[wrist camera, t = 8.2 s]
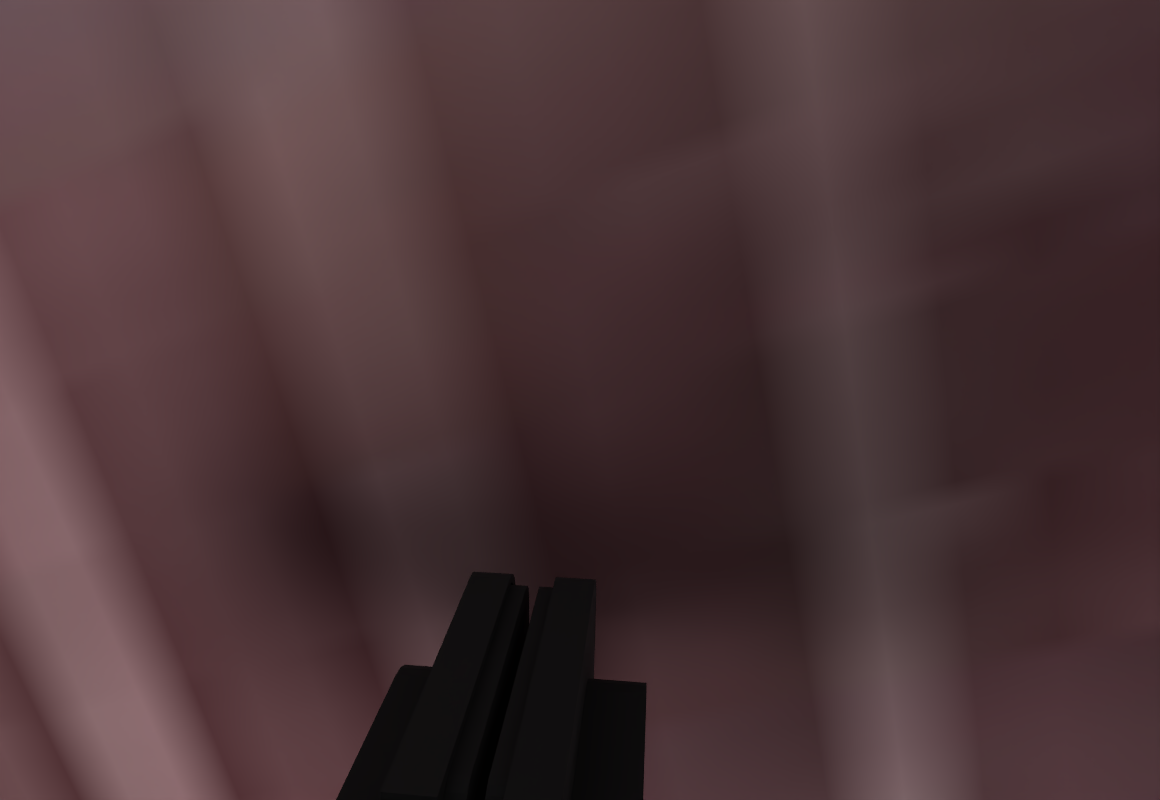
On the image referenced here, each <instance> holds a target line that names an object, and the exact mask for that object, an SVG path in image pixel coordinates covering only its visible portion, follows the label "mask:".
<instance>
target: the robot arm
mask: <svg viewBox="0 0 1160 800" xmlns="http://www.w3.org/2000/svg"><path fill="white" fill-rule="evenodd" d="M595 615H596V580H593V579H578V578H562V577H556V578H555V582H554V586H553V588H551V587H539V590H538V593H537V597H536V601H535V605H534V609H533V612H532V616H531V620H530V624H529V589H528V586H521V585H515V578H514V575H513V574H501V573H486V572H473V573H472V575H471V576H470V579H469V581H468V584H467V586H466V588H465V591H464V593H463V596H462V598H461V600H460V603H459V605H458V607H457V610H456V612H455V615H454V617H453V619H452V622H451V624H450V627H449V629H448V631H447V634H446V636H445V638H444V641H443V643H442V646H441V648H440V650H439V653H438V655H437V657H436V660H435V662H434V665H433V667H428V666H415V665H404V666H402V667H401V668H400V669H399V671H398V672H397V674H396V676H395V678H394V680H393V682H392V684H391V686H390V688H389V690H388V693H387V695H386V697H385V699H384V701H383V703H382V705H381V707H380V709H379V711H378V713H377V716H376V718H375V720H374V722H373V724H372V726H371V728H370V730H369V732H368V734H367V736H366V738H365V741H364V743H363V745H362V747H361V749H360V751H359V753H358V755H357V757H356V759H355V761H354V764H353V766H352V768H351V770H350V772H349V774H348V776H347V778H346V780H345V782H344V784H343V787H342V789H341V791H340V793H339V795H338V797H337V799H336V800H643V785H644V752H645V720H646V686H647V685H646V683H641V682H627V681H614V680H601V679H594V650H595Z"/></svg>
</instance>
